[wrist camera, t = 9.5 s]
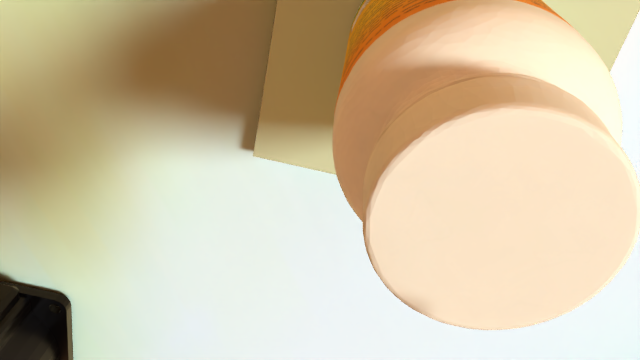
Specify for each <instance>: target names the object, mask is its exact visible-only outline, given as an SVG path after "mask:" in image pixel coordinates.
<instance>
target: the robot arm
mask: <svg viewBox="0 0 640 360" xmlns="http://www.w3.org/2000/svg"><path fill="white" fill-rule="evenodd" d="M0 360H73V342H72V314H71V303H70V301H69V299H68V298H67V297H65V296H64V295H61V294H58V293H54V292H49V291H44V290H40V289H35V288H31V287H26V286H22V285H17V284H12V283H8V282H3V281H0Z"/></svg>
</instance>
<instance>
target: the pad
mask: <svg viewBox="0 0 640 360" xmlns="http://www.w3.org/2000/svg"><path fill="white" fill-rule="evenodd" d="M362 1H363V0H277V5H276V12H275V18H274V25H273V31H272V37H271V44H270V50H269V57H268V63H267V70H266V76H265V82H264V89H263V95H262V102H261V108H260V114H259V121H258V127H257V134H256V140H255V146H254V153H253V156H255V157H260V158H264V159H269V160H273V161H278V162H282V163H287V164H291V165H296V166H300V167H305V168H309V169H313V170H318V171H322V172H327V173H331V174H336V171H335V166H334V159H333V149H332V136H333V121H334V112H335V106H336V102H337V97H338V92H339V87H340V83H341V77H342V72H343V67H344V62H345V56H346V50H347V44H348V38H349V33H350V29H351V26H352V23H353V20H354V17H355V14H356V12H357V10H358V8H359V6H360V4H361V3H362ZM542 1H543V2H544V3H545V4H547V5H548V6H549V7H550V8H551V9H552V10H554V11H555V12H556V13H557V14H558V15H560V16H561V17H562V18H563V19H564V20H566V21H567V22H568V23H569V24H570V25H571V26H572V27H573V28H574V29H576V30H577V31H578V32H579V33H580V35H581V36H582V37H583V38H584V39H585V40H586V41H587V42H588V43H589V44H590V45H591V46H592V47H593V49H594V50H595V51H596V52H597V54H598V55H599V56H600V58H601V59H602V61H603V62H604V64H605V65H606V67H607V69H608V71H609V72H610V70H611V68H612V66H613V64H614V62H615V60H616V58H617V56H618V54H619V51H620V49H621V47H622V45H623V43H624V41H625V39H626V37H627V35H628V33H629V31H630V29H631V27H632V24H633V22H634V20H635V18H636V16H637V14H638V12H639V10H640V0H542Z"/></svg>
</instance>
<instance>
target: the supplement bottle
mask: <svg viewBox="0 0 640 360" xmlns="http://www.w3.org/2000/svg"><path fill="white" fill-rule="evenodd" d="M621 137H622V114H621V107H620V101H619V98H618V94H617V90H616V87H615V84H614V82H613V79H612V77H611V75H610V73H609V71H608V69H607V67H606V65H605V64H604V62H603V61H602V59H601V58H600V56H599V55H598V54H597V52H596V51H595V50H594V49H593V47H592V46H591V45H590V44H589V43H588V42H587V41H586V40H585V39H584V38H583V37H582V36H581V35H580V33H579V32H578V31H577V30H576V29H574V28H573V27H572V26H571V25H570V24H569V23H568V22H567V21H566V20H564V19H563V18H562V17H561V16H560V15H558V14H557V13H556V12H555V11H554V10H552V9H551V8H550V7H549V6H548V5H547V4H545V3H544V2H543V1H542V0H363V1H362V3H361V4H360V6H359V8H358V10H357V12H356V14H355V17H354V20H353V23H352V26H351V29H350V33H349V38H348V44H347V50H346V56H345V62H344V67H343V72H342V77H341V83H340V87H339V92H338V97H337V102H336V106H335V112H334V121H333V136H332V149H333V159H334V166H335V171H336V175H337V178H338V180H339V183H340V186H341V188H342V191H343V193H344V195H345V197H346V199H347V201H348V202H349V204H350V206H351V207H352V209H353V210H354V212H355V213H356V214H357V216H358V217H359V218H360V219H361V220H362V222H363V235H364V241H365V246H366V250H367V253H368V256H369V259H370V261H371V264H372V266H373V268H374V270H375V271H376V273H377V274H378V276H379V277H380V279H381V280H382V281H383V283H384V284H385V286H386V287H387V288H388V289H389V290H390V291H391V292H392V293H393V294H394V295H395V296H396V297H397V298H399V299H400V300H401V301H402V302H403V303H405V304H406V305H408V306H409V307H411V308H412V309H414V310H415V311H417V312H419V313H421V314H423V315H426V316H428V317H430V318H432V319H434V320H437V321H440V322H443V323H446V324H450V325H454V326H459V327H464V328H470V329H480V330H502V329H513V328H521V327H526V326H531V325H534V324H538V323H541V322H545V321H548V320H551V319H554V318H556V317H558V316H561V315H563V314H565V313H567V312H570V311H572V310H573V309H575V308H577V307H579V306H580V305H582V304H583V303H585V302H587V301H588V300H590V299H591V298H592V297H594V296H595V295H596V294H597V293H599V292H600V291H601V290H602V289H603V288H604V287H605V286H606V285H607V284H608V283H609V282H610V281H611V280H612V279H613V278H614V277H615V275H616V274H617V273H618V272H619V271H620V269H621V268H622V267H623V266H624V264H625V263H626V261H627V259H628V258H629V256H630V254H631V252H632V250H633V248H634V245H635V243H636V240H637V238H638V235H639V231H640V185H639V182H638V179H637V176H636V173H635V170H634V168H633V166H632V164H631V162H630V160H629V158H628V157H627V155H626V154H625V152H624V151H623V149H622V148H621V147H620V146H621Z"/></svg>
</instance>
